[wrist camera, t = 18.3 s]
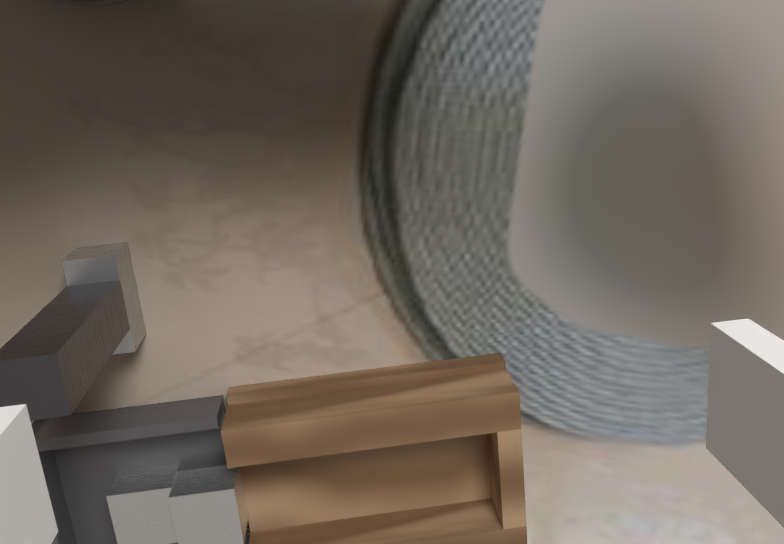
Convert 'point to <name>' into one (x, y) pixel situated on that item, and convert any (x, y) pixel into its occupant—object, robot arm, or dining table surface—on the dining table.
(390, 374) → the slot board
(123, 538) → the chip rear
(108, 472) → the tray
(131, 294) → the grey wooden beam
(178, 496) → the block
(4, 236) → the dining table surface
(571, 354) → the dining table surface
